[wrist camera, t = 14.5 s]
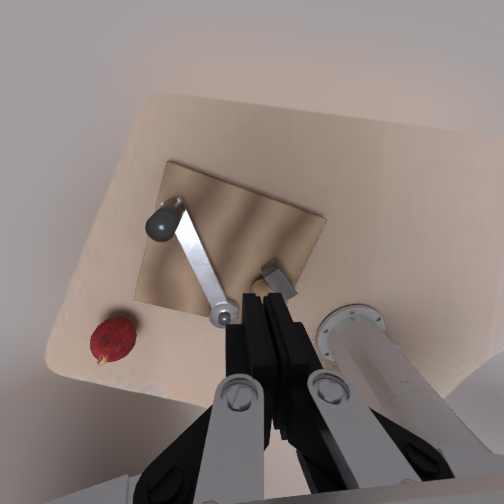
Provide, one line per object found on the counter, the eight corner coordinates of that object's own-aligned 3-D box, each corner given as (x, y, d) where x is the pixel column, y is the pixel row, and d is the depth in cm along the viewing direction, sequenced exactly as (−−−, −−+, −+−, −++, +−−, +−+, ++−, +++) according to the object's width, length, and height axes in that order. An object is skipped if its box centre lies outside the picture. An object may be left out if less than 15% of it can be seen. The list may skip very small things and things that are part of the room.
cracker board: (321, 216, 37) (338, 227, 32) (270, 323, 43) (277, 347, 38) (169, 160, 31) (160, 163, 26) (137, 292, 38) (124, 315, 33)
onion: (105, 304, 38) (78, 341, 31) (145, 310, 39) (128, 348, 32) (101, 334, 40) (75, 376, 33) (139, 339, 41) (122, 381, 34)
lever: (242, 316, 39) (249, 363, 31) (216, 326, 39) (215, 375, 31) (188, 190, 31) (176, 207, 22) (154, 202, 31) (130, 224, 23)
